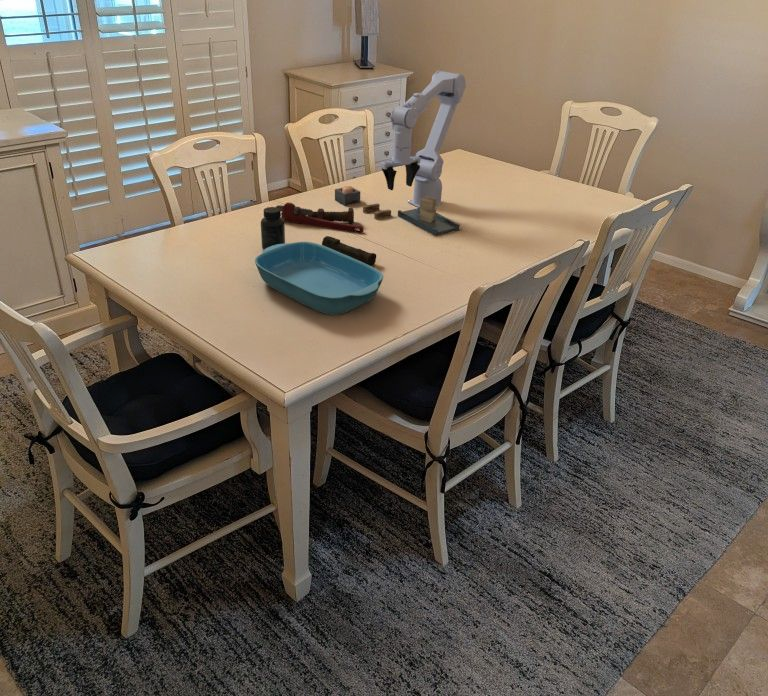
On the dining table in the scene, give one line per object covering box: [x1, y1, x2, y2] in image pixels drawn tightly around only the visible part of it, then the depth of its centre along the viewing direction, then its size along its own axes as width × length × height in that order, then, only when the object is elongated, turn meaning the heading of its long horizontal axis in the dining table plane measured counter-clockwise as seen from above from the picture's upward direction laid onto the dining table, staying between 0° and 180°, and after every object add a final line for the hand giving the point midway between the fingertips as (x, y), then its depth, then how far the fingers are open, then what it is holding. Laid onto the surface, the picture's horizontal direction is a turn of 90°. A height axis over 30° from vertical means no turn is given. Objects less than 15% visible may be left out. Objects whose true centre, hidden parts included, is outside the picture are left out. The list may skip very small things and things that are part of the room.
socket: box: [362, 203, 392, 220], centre depth 229 cm, size 6×8×2 cm
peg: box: [419, 196, 438, 223], centre depth 223 cm, size 4×4×7 cm
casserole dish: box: [254, 241, 384, 316], centre depth 179 cm, size 37×22×7 cm, turn 49°
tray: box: [397, 207, 461, 237], centre depth 224 cm, size 10×20×2 cm, turn 36°
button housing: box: [334, 185, 361, 207], centre depth 238 cm, size 6×6×4 cm
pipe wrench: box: [275, 202, 365, 234], centre depth 217 cm, size 7×2×30 cm
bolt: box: [309, 207, 355, 225], centre depth 221 cm, size 6×5×15 cm
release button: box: [341, 185, 354, 193], centre depth 238 cm, size 4×4×4 cm
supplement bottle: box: [260, 206, 286, 251], centre depth 199 cm, size 7×7×12 cm
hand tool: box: [321, 235, 377, 267], centre depth 199 cm, size 19×4×5 cm, turn 51°
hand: (399, 187), depth 225 cm, fingers open, 7 cm apart
